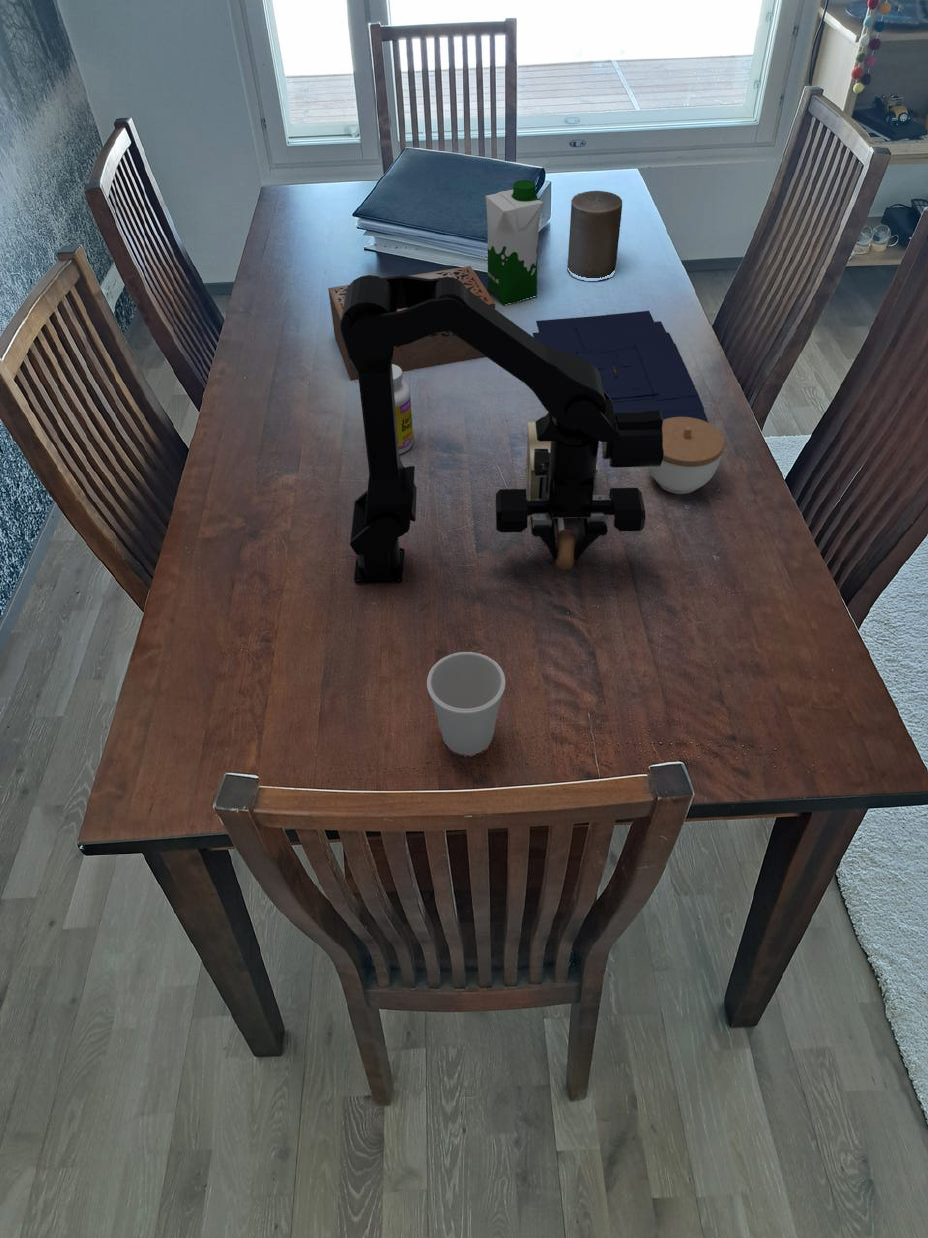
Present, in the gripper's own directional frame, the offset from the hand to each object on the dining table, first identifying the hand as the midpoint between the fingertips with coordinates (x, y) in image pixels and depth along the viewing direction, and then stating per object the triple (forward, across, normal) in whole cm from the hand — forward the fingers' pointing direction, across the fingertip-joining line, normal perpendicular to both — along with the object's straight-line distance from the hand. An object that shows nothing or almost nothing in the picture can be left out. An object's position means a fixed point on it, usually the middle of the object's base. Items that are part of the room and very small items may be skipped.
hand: (565, 557), depth 122 cm
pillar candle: (+1, -11, -84) cm, 85 cm away
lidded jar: (+1, -18, -18) cm, 25 cm away
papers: (+2, -11, -45) cm, 46 cm away
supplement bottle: (+1, +25, -28) cm, 37 cm away
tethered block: (+1, 0, -8) cm, 8 cm away
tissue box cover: (+2, +23, -56) cm, 61 cm away
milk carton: (+1, +5, -76) cm, 76 cm away
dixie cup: (+1, +13, +28) cm, 31 cm away
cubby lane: (+1, 0, -14) cm, 14 cm away
